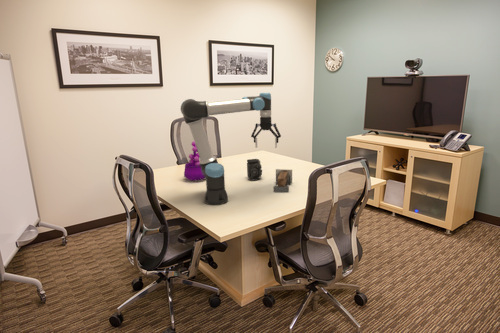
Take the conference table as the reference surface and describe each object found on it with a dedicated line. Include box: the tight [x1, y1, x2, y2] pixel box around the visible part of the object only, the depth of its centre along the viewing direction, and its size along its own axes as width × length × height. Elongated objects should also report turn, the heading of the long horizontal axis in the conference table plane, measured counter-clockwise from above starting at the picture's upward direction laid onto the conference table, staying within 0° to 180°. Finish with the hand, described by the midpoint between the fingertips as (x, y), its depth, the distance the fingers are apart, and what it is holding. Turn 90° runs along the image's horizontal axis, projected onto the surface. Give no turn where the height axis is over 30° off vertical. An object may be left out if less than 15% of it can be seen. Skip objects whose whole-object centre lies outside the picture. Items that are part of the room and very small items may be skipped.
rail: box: [277, 172, 287, 187], centre depth 230 cm, size 4×16×6 cm, turn 166°
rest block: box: [272, 185, 290, 193], centre depth 224 cm, size 10×4×4 cm, turn 78°
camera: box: [246, 158, 263, 181], centre depth 251 cm, size 10×10×15 cm
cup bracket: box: [275, 168, 293, 186], centre depth 238 cm, size 12×6×10 cm, turn 78°
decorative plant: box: [183, 140, 206, 182], centre depth 252 cm, size 19×18×30 cm
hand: (266, 147), depth 226 cm, fingers open, 13 cm apart
